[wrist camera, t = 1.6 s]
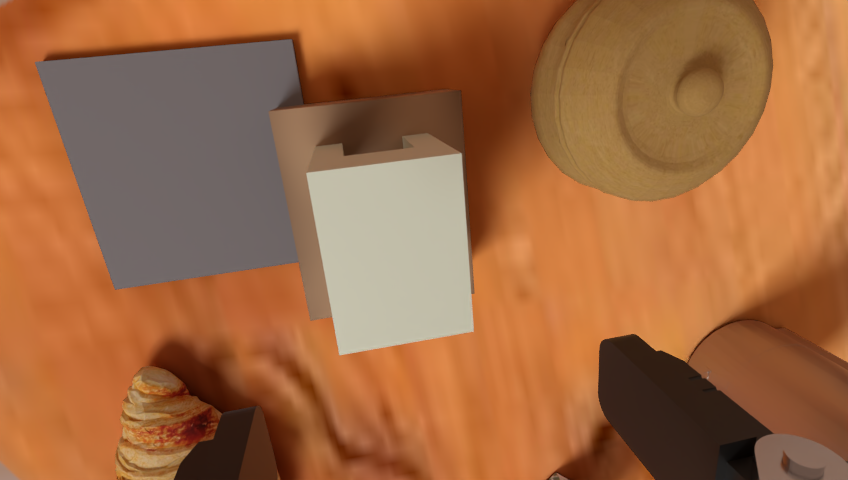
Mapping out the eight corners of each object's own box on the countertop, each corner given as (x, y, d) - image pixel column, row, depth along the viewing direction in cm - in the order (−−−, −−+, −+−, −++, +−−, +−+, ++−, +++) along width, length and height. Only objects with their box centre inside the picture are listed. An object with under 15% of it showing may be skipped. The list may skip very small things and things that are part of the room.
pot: (506, 184, 31) (578, 228, 22) (513, -13, 28) (602, -61, 18) (666, 173, 33) (794, 210, 24) (692, -13, 29) (858, -57, 20)
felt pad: (292, 40, 26) (291, 39, 26) (330, 254, 31) (330, 257, 30) (41, 62, 25) (34, 62, 24) (119, 285, 29) (115, 289, 29)
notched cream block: (427, 133, 25) (461, 153, 18) (440, 268, 28) (473, 331, 21) (315, 146, 25) (305, 172, 18) (339, 284, 27) (339, 355, 20)
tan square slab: (444, 89, 29) (460, 90, 25) (458, 269, 33) (474, 293, 29) (277, 107, 27) (268, 111, 24) (313, 292, 31) (310, 320, 28)
